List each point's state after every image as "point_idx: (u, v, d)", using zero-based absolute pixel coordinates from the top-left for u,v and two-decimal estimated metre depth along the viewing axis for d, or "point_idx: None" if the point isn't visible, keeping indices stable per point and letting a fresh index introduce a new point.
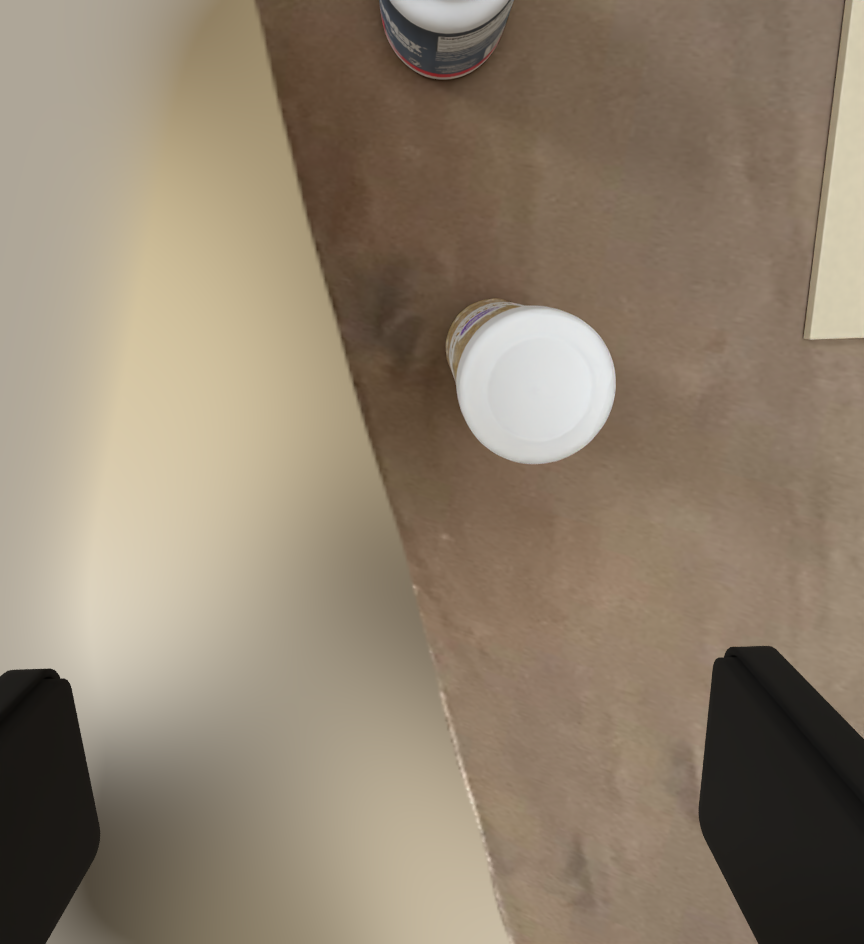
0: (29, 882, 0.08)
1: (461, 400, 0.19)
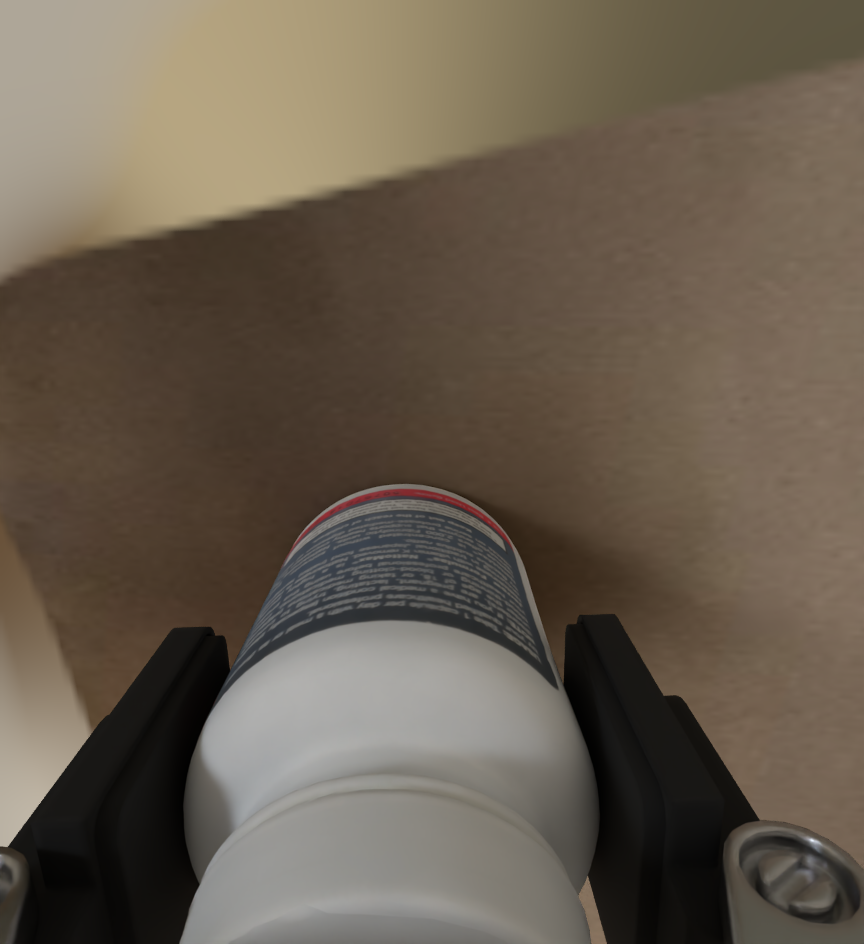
0: None
1: None
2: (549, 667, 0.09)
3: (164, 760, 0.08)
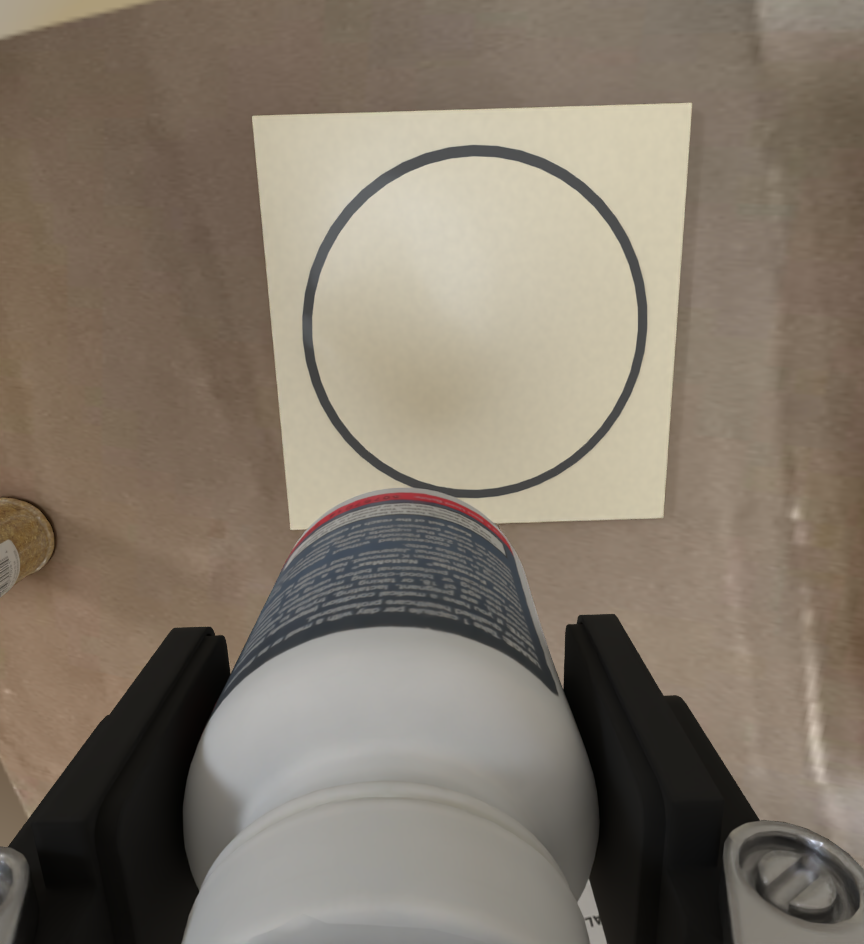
0: None
1: None
2: (549, 673, 0.09)
3: (164, 760, 0.08)
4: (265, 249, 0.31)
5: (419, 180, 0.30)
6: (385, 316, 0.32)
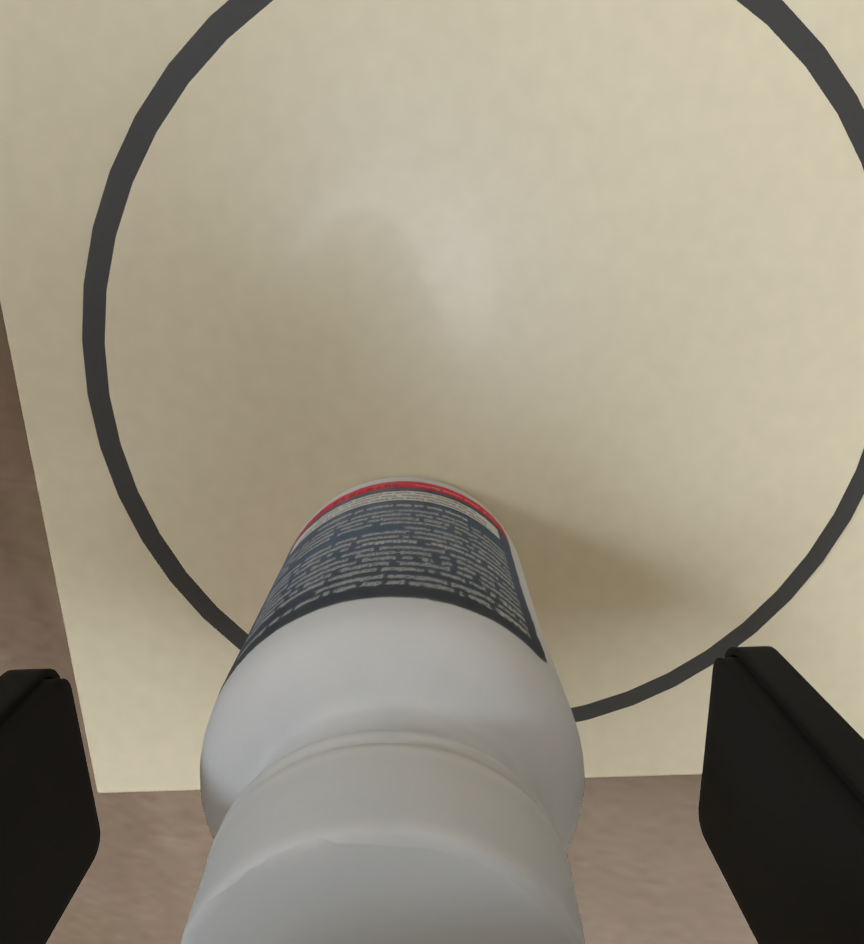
0: (29, 882, 0.08)
1: None
2: (538, 642, 0.09)
3: None
4: None
5: None
6: (281, 342, 0.13)
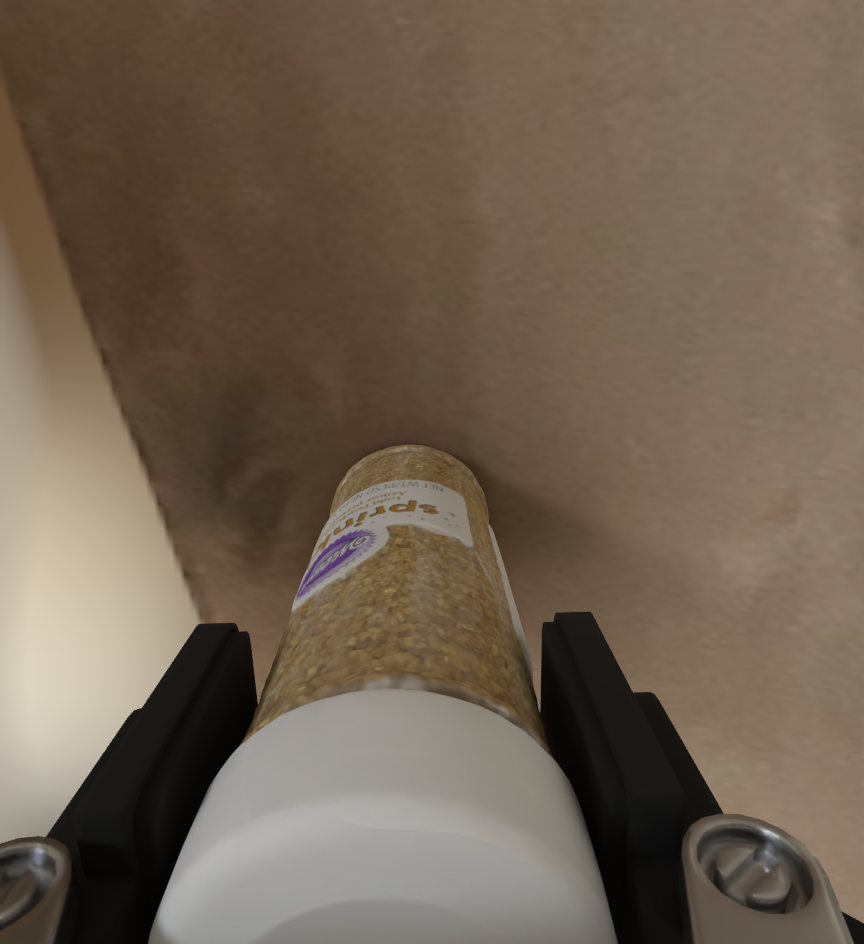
0: None
1: None
2: None
3: (196, 753, 0.08)
4: None
5: None
6: None
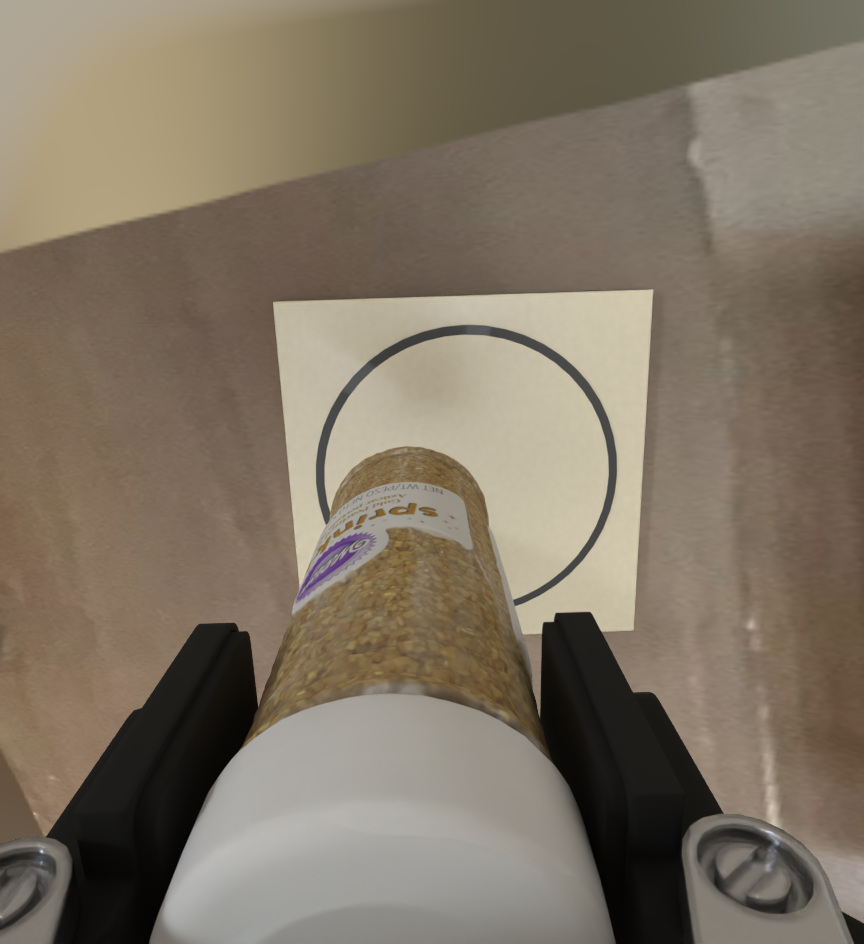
0: None
1: None
2: None
3: (196, 753, 0.08)
4: (284, 410, 0.36)
5: (417, 353, 0.35)
6: None
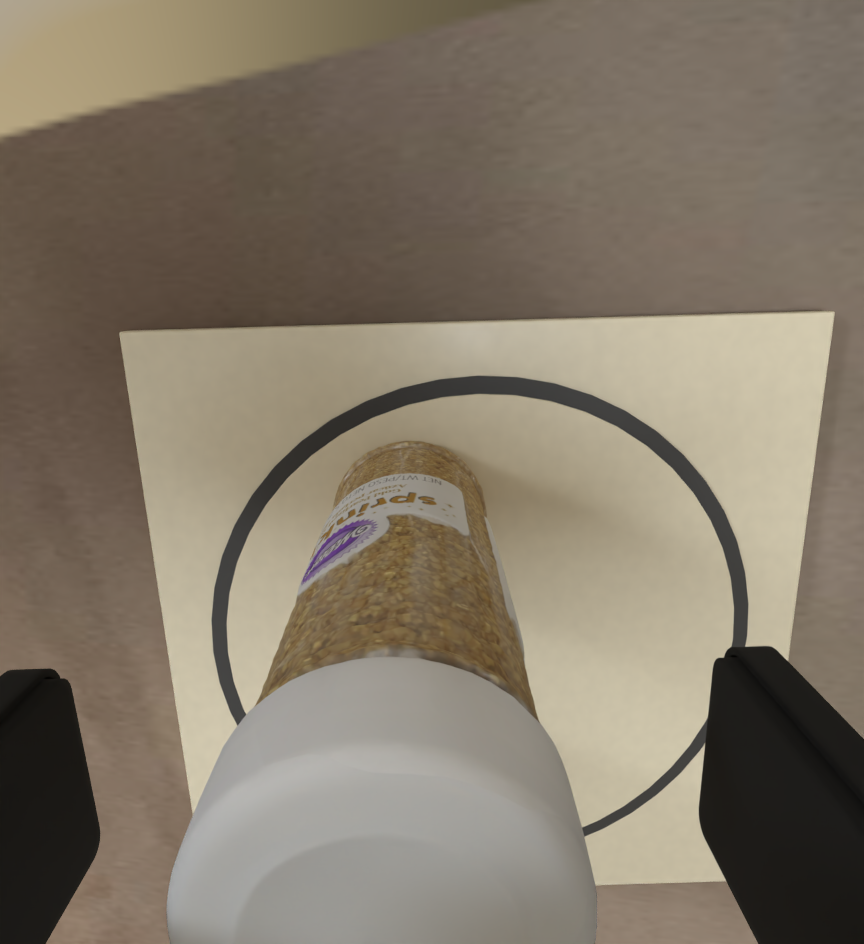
0: (29, 882, 0.08)
1: None
2: None
3: None
4: (150, 526, 0.20)
5: (392, 428, 0.19)
6: None
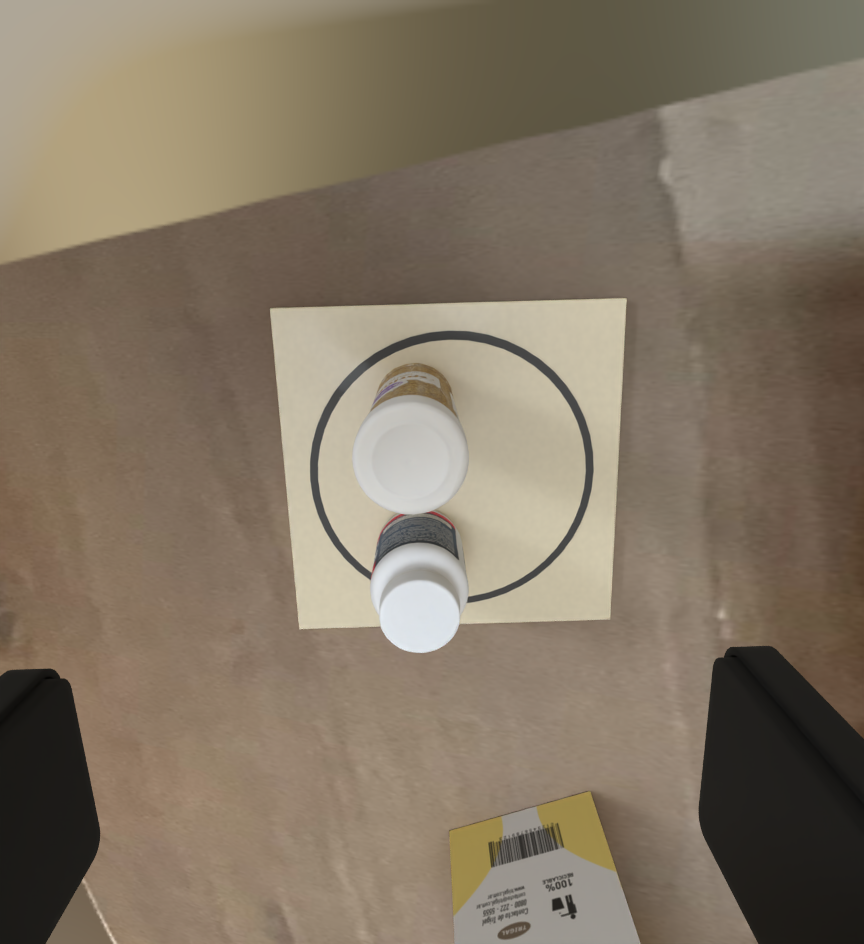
0: (29, 882, 0.08)
1: (353, 468, 0.25)
2: (457, 556, 0.35)
3: None
4: (280, 409, 0.38)
5: (406, 357, 0.37)
6: None
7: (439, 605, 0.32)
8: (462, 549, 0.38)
